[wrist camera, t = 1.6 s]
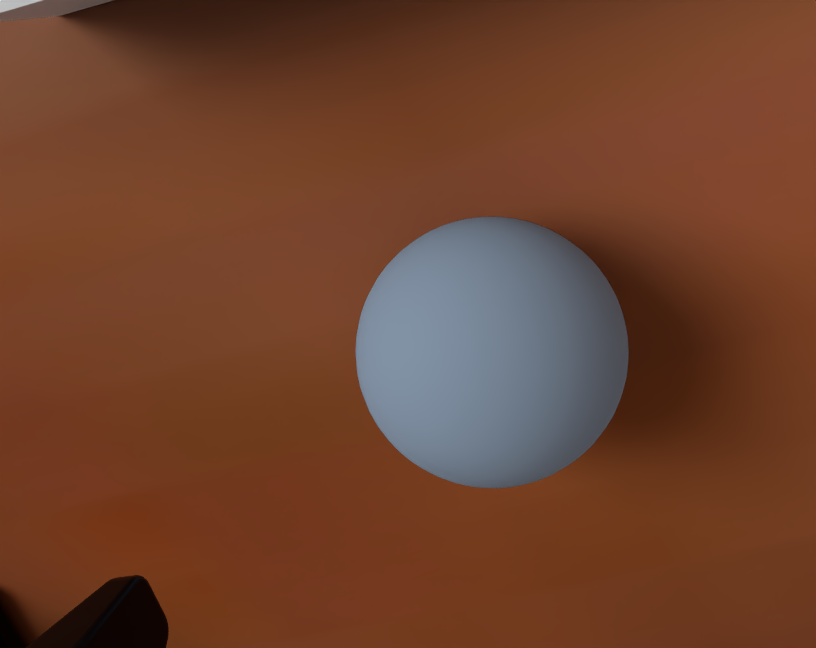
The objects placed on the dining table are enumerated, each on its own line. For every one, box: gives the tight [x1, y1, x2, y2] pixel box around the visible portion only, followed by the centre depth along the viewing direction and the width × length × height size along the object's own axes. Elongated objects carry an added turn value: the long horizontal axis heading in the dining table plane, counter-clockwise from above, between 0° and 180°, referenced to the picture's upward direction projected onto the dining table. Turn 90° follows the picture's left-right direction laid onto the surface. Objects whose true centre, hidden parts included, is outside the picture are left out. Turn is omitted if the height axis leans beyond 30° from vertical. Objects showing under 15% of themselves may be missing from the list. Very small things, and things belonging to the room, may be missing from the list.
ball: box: [356, 217, 629, 488], centre depth 14 cm, size 5×5×5 cm
